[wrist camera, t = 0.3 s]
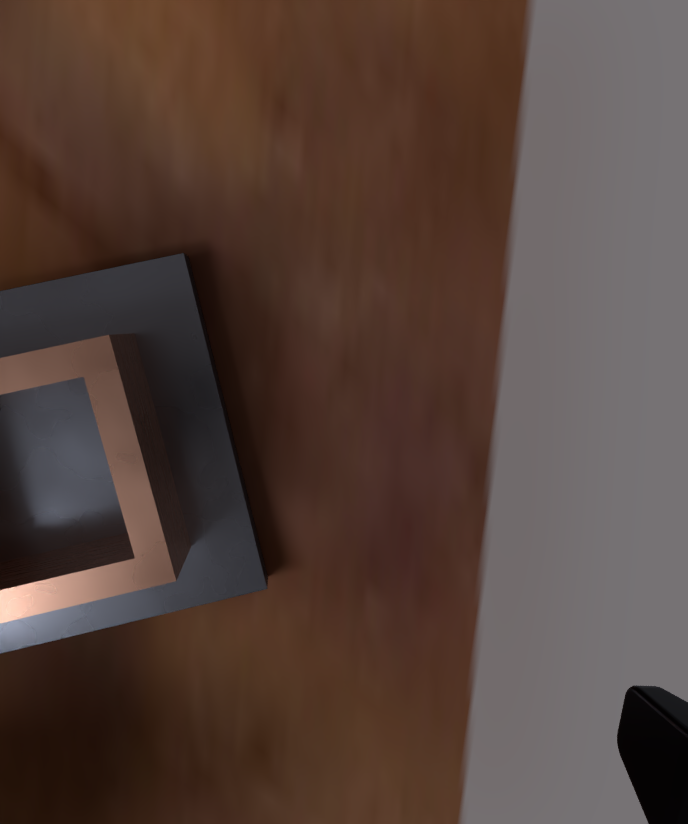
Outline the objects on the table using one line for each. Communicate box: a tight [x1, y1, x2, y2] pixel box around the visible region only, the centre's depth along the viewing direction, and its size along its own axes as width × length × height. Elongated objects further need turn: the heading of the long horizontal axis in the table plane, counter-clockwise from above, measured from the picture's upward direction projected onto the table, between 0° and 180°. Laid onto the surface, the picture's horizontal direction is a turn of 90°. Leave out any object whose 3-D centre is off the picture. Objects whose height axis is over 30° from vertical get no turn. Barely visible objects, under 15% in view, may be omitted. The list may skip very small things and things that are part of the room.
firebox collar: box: [0, 253, 268, 654], centre depth 20 cm, size 12×11×4 cm
